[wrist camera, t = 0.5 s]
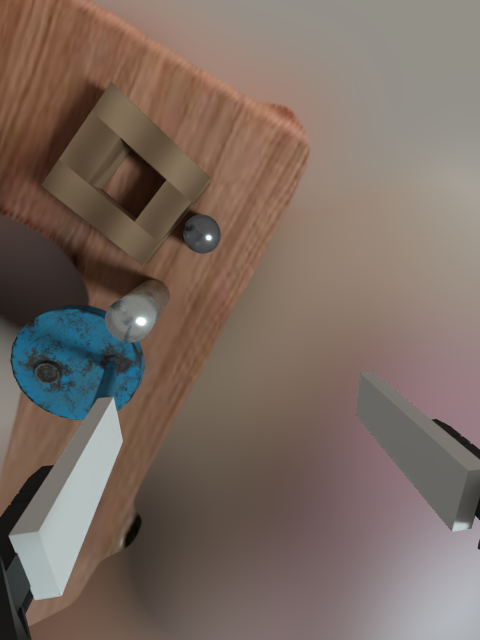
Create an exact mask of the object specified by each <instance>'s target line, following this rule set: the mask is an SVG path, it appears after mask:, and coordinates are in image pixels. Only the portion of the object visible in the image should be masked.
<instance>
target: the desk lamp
mask: <svg viewBox="0 0 480 640" xmlns="http://www.w3.org/2000/svg"><path fill="white" fill-rule="evenodd" d="M105 315H106V311H104V310H101V309H97V308H93V307H90V306H82V305H67V306H62V307H58V308H53V309H51V310H49V311H47V312H45V313H43V314H41V315H40V316H38V317H36V318H34V319H32V320H31V321H30V322H28V323H27V325H25V327H23V329H21V330H20V332H19V333H18V335H17V337H16V339H15V342H14V343H13V345H12V354H11V365H12V370H13V375H14V377H15V379H16V381H17V383H18V385H19V387H20V389H21V390H22V391H23V392H24V393H25V394H26V395H27V397H28V398H29V399H30V400H31V401H32V402H34V403H35V404H37V405H38V406H39V407H41V408H42V409H44V410H45V411H48V412H50V413H53V414H55V415H57V416H60V417H64V418H69V419H75V420H84V419H85V417H86V416H87V414H88V413H89V411H90V410H91V408H92V406H93V405H94V403H95V402H96V400H97V399H98V398H106V397H114V401H115V406H116V411H118V410H120V409H121V408H122V407H123V406H124V405H125V404H126V403H128V402H129V401H130V400H131V398H132V396H133V395H134V393H135V392H136V390H137V388H138V387H139V385H140V383H141V381H142V377H143V373H144V355H143V352H142V349H141V346H140V343H139V341H137V342H132V343H128V342H123V341H120V340H118V339H116V338H115V337H113V336H112V335H111V334H110V332H109V331H108V329H107V327H106V324H105ZM33 597H34V596H33V594H32V592H31V589H29V591H28V593H27V595H26V597H25V599H24V601H23V603H22V606H23V609H24V611H25V614H26V612H27V610H28V608H29V605H30V603H31V601H32V599H33Z"/></svg>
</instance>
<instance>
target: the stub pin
mask: <svg viewBox="0 0 480 640" xmlns="http://www.w3.org/2000/svg"><path fill="white" fill-rule="evenodd" d="M220 236H221V235H220V228H219V226H218V224H217V223H216V221H215V220H214V219H212V218H211V217H209V216H207V215H195V216H193V217H191V218H190V219H189V220H188V221H187V222H186V224H185V226H184V230H183V237H184V241H185V243H186V244H187V246H188V247H189V248H190V249H191V250H193V251H195V252H197V253H208V252H210V251H212V250H214V249H215V248H216V247H217V245H218V243H219V241H220Z"/></svg>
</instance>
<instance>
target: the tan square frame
mask: <svg viewBox="0 0 480 640" xmlns="http://www.w3.org/2000/svg"><path fill="white" fill-rule="evenodd" d="M130 150H132V151H134V152H135V153H136V154H137V155H138V156H139V157H140V158H141V159H142V160H143V161H144V162H146V163H147V164H148V165H149V166H150V167H151V168H152V169H153V170H154V171H155V172H157V173H158V174H159V175H160V176H161V177H162V178H163V179H164V180H165V182H164V184H163V185H162V186H161V188H160V189H159V190H158V192H157V193H156V194H155V196H154V197H153V198H152V199H151V201H150V202H149V203H148V205H147V206H146V207H145V209H144V210H143V211H142V213H141V214H140V215H139V217H138V218H135V217H134V216H133V215H132V214H131V213H129V212H128V211H127V210H126V209H125V208H124V207H122V206H121V205H120V204H119V203H118V202H116V201H115V200H114V199H113V198H112V197H110V196H109V195H108V194H107V193H106V192H104V191H103V190H102V189H103V188H104V186H105V185H106V184H107V182H108V181H109V179H110V178H111V177H112V175H113V174H114V173H115V171H116V170H117V168H118V167H119V166H120V164H121V163H122V161H123V160H124V159H125V157H126V156H127V155H128V153H129V152H130ZM209 185H210V177H209V176H208V175H207V174H206V173H205V172H204V171H203V170H202V169H201V168H200V167H199V166H198V165H197V164H196V163H195V162H194V161H193V160H192V159H191V158H189V157H188V156H187V155H186V154H185V153H184V152H183V151H182V150H181V149H180V148H179V147H178V146H177V145H176V144H175V143H174V142H173V141H172V140H171V139H170V138H169V137H168V136H167V135H166V134H165V133H164V132H163V131H162V130H161V129H160V128H158V127H157V126H156V125H155V124H154V123H153V122H152V121H151V120H150V119H149V118H148V117H147V116H146V115H145V114H144V113H143V112H142V111H141V110H140V109H139V108H138V107H137V106H136V105H135V104H134V103H133V102H132V101H131V100H130V99H128V98H127V97H126V96H125V95H124V94H123V93H122V92H121V91H120V90H119V89H118V88H117V87H116V86H115V85H114V84H113V83H112V82H111V83H110V84H109V86H108V87H107V89H106V90H105V92H104V93H103V95H102V96H101V98H100V99H99V101H98V102H97V104H96V105H95V106H94V108H93V109H92V111H91V112H90V114H89V115H88V117H87V118H86V120H85V121H84V123H83V124H82V126H81V127H80V129H79V130H78V131H77V133H76V134H75V136H74V137H73V139H72V140H71V142H70V143H69V145H68V146H67V148H66V149H65V151H64V152H63V154H62V155H61V156H60V158H59V159H58V161H57V162H56V164H55V165H54V167H53V168H52V170H51V171H50V173H49V174H48V176H47V177H46V179H45V180H44V181H43V183H42V184H41V186H42V187H44V188H45V189H46V190H47V191H49V192H50V193H51V194H52V195H54V196H55V197H56V198H58V199H59V200H60V201H61V202H63V203H64V204H65V205H66V206H68V207H69V208H70V209H71V210H73V211H74V212H75V213H76V214H78V215H79V216H80V217H82V218H83V219H84V220H85V221H87V222H88V223H89V224H90V225H92V226H93V227H94V228H95V229H97V230H98V231H99V232H101V233H102V234H103V235H104V236H106V237H107V238H108V239H109V240H111V241H112V242H113V243H114V244H116V245H117V246H118V247H120V248H121V249H122V250H123V251H125V252H126V253H127V254H128V255H130V256H131V257H132V258H133V259H135V260H136V261H137V262H139V263H140V264H141V265H142V264H144V263H147V262H149V261H150V260H151V258H152V257H153V256H154V254H155V253H156V252H157V251H158V249H159V248H160V247H161V246H162V244H163V243H164V242H165V241H166V239H167V238H168V237H169V236H170V234H171V233H172V232H173V230H174V229H175V228H176V227H177V225H178V224H179V223H180V222H181V220H182V219H183V218H184V217H185V215H186V214H187V213H188V212H189V210H190V209H191V208H192V206H193V205H194V204H195V203H196V201H197V200H198V199H199V198H200V196H201V195H202V194H203V193H204V191H205V190H206V189H207V188H208V186H209Z"/></svg>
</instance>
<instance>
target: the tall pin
mask: <svg viewBox="0 0 480 640" xmlns="http://www.w3.org/2000/svg"><path fill="white" fill-rule="evenodd" d="M169 298H170V293H169V290H168V288H167V286H166V285H165V284H164V283H163V282H161V281H159V280H154V279H151V280H147V281H145V282H143V283H142V284H141V285H139V286H138V287H136V288H135V289H133V290H132V291H131V292H129V293H128V294H126V295H125V296H123V297H122V298H121V299H119V300H118V301H116V302H115V303H113V304H112V305H111V306H110V307H109V308H108V310H107V312H106V315H105V324H106V327H107V329H108V331H109V332H110V334H111V335H112V336H113V337H115V338H116V339H118V340H120V341H123V342H128V343H132V342H137V341H140V340H142V339H143V338H145V337H146V336H147V335H148V333H149V332H150V330H151V329H152V327H153V325H154V324H155V322H156V321H157V319H158V317H159V316H160V314H161V313H162V311H163V309H164V308H165V306H166V305H167V303H168V301H169Z"/></svg>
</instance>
